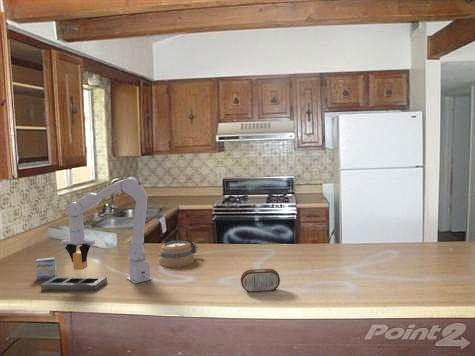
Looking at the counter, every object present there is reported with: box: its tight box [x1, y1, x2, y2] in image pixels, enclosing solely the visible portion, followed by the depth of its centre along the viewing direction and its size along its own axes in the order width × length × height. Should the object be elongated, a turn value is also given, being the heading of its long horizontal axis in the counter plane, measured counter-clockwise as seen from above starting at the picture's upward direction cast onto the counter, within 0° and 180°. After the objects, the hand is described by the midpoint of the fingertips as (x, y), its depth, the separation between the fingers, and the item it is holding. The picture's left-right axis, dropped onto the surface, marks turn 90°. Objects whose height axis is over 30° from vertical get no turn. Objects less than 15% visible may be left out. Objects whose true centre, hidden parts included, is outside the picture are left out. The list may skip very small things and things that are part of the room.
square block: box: [72, 250, 88, 271], centre depth 175 cm, size 4×4×7 cm
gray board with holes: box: [40, 276, 108, 292], centre depth 172 cm, size 24×10×2 cm, turn 81°
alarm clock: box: [158, 240, 199, 268], centre depth 203 cm, size 17×9×23 cm
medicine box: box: [35, 256, 58, 281], centre depth 185 cm, size 8×4×9 cm, turn 105°
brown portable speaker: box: [240, 268, 281, 293], centre depth 157 cm, size 15×3×8 cm, turn 92°
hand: (79, 261), depth 175 cm, fingers closed on square block, 4 cm apart
